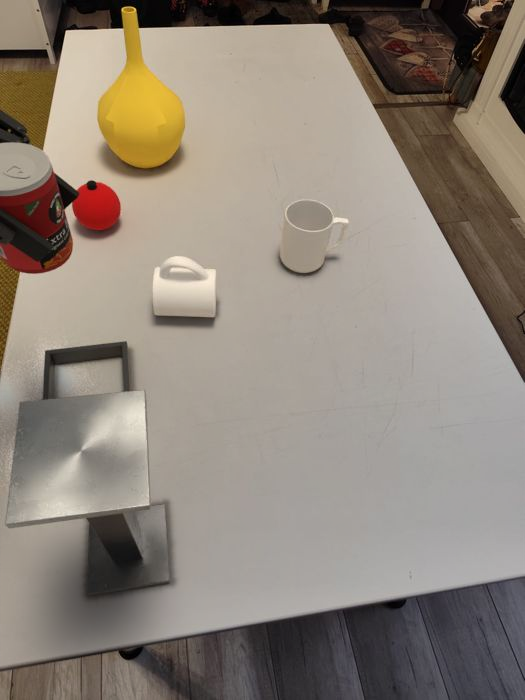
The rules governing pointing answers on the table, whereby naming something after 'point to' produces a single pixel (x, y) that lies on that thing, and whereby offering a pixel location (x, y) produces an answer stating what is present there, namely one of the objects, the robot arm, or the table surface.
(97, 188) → the ornament
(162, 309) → the mug
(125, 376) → the grey square frame
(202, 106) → the table surface
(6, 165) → the canned food
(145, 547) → the steel stand
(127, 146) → the vase
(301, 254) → the mug
